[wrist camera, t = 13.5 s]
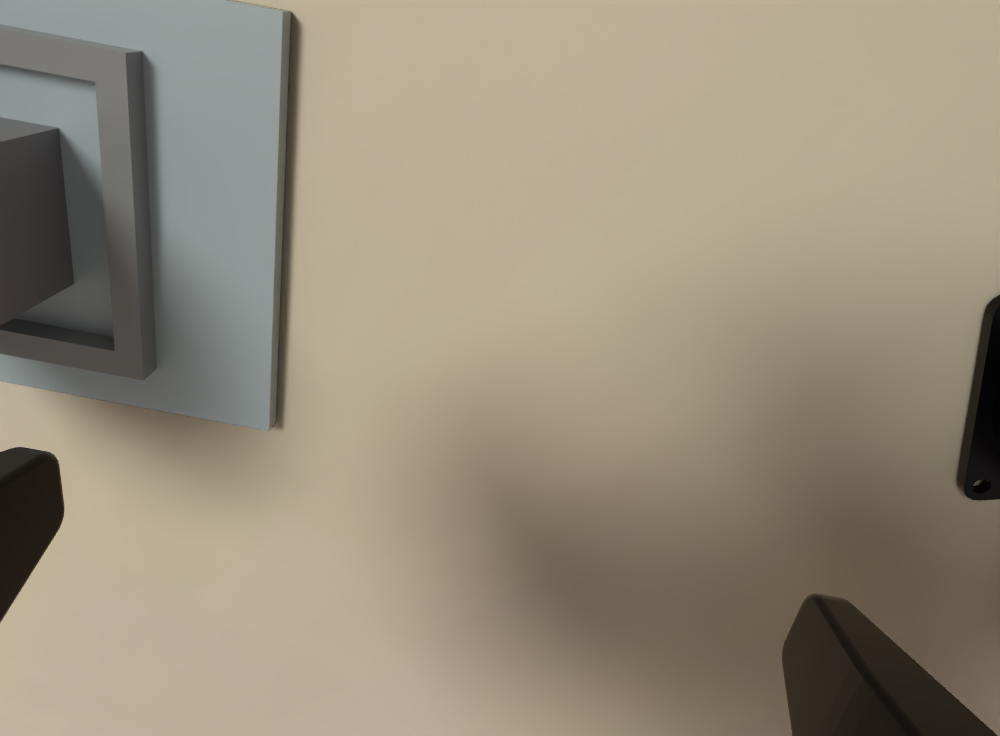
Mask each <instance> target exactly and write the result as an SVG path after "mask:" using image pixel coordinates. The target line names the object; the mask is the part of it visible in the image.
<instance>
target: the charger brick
mask: <svg viewBox="0 0 1000 736" xmlns="http://www.w3.org/2000/svg"><path fill="white" fill-rule="evenodd" d="M73 284H74V274H73V264H72V254H71V244H70V234H69V225H68V215H67V205H66V195H65V185H64V175H63V165H62V155H61V145H60V135H59V128H56V127H51V126H46V125H40V124H35V123H29V122H24V121H19V120H13V119H8V118H2V117H0V325H2V324H4V323H6V322H7V321H9V320H11V319H13V318H14V317H16V316H18V315H20V314H22V313H23V312H25V311H27V310H29V309H30V308H32V307H34V306H36V305H38V304H39V303H41V302H43V301H45V300H46V299H48V298H50V297H52V296H54V295H55V294H57V293H59V292H61V291H62V290H64V289H66V288H68V287H70V286H71V285H73Z"/></svg>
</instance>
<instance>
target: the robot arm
mask: <svg viewBox="0 0 1000 736" xmlns="http://www.w3.org/2000/svg"><path fill="white" fill-rule="evenodd" d="M982 479H984V480H983V481H982V483H980V484H979V485H976V486H973V485H974V483H975V482H977V481H978V480H982ZM957 482H958V486H959V487H960V489H961V490H962V491H963V492H964V494H965V495H966V496H967V497H968V498H970V499H972V500H994V499H1000V295H999V296H997V297H996V298H994V299H993V300H992V301H991V302H990V303H989V304H988V306H987V308H986V311H985V316H984V322H983V328H982V334H981V340H980V346H979V352H978V358H977V364H976V370H975V376H974V382H973V388H972V394H971V400H970V406H969V412H968V418H967V424H966V430H965V437H964V443H963V449H962V455H961V461H960V467H959V473H958V479H957ZM63 517H64V500H63V492H62V484H61V476H60V468H59V463H58V460H57V458H56V457H55V455H53V454H52V453H50V452H46V451H40V450H35V449H30V448H23V447H16V448H12V449H9V450H6V451H3V452H0V622H1V621H2V619H3V618H4V616H5V614H6V613H7V611H8V610H9V608H10V606H11V605H12V603H13V602H14V600H15V598H16V597H17V595H18V594H19V592H20V591H21V589H22V587H23V586H24V584H25V583H26V581H27V579H28V578H29V576H30V575H31V573H32V571H33V570H34V568H35V567H36V565H37V563H38V562H39V560H40V559H41V557H42V555H43V554H44V552H45V551H46V549H47V547H48V546H49V544H50V543H51V541H52V540H53V538H54V536H55V535H56V533H57V532H58V530H59V528H60V526H61V523H62V520H63ZM782 663H783V671H784V678H785V685H786V692H787V700H788V707H789V714H790V721H791V729H792V736H997V735H996V734H995V733H994V732H993V731H992V730H991V729H990V728H988V727H987V726H986V725H985V724H984V723H983V722H982V721H981V720H980V719H979V718H977V717H976V716H975V715H974V714H973V713H972V712H971V711H970V710H969V709H967V708H966V707H965V706H964V705H963V704H962V703H961V702H960V701H959V700H957V699H956V698H955V697H954V696H953V695H952V694H951V693H950V692H949V691H947V690H946V689H945V688H944V687H943V686H942V685H941V684H940V683H939V682H938V681H936V680H935V679H934V678H933V677H932V676H931V675H930V674H929V673H928V672H926V671H925V670H924V669H923V668H922V667H921V666H920V665H919V664H918V663H916V662H915V661H914V660H913V659H912V658H911V657H910V656H909V655H908V654H906V653H905V652H904V651H903V650H902V649H901V648H900V647H899V646H898V645H897V644H895V643H894V642H893V641H892V640H891V639H890V638H889V637H888V636H887V635H885V634H884V633H883V632H882V631H881V630H880V629H879V628H878V627H877V626H875V625H874V624H873V623H872V622H871V621H870V620H869V619H868V618H867V617H865V616H864V615H863V614H862V613H861V612H860V611H859V610H858V609H857V608H856V607H854V606H853V605H852V604H851V603H850V602H849V601H847V600H845V599H842V598H838V597H833V596H827V595H822V594H811V595H809V596H808V597H807V598H806V599H805V600H804V602H803V604H802V606H801V608H800V610H799V612H798V614H797V616H796V619H795V621H794V623H793V625H792V627H791V629H790V631H789V633H788V635H787V638H786V640H785V642H784V646H783V652H782Z"/></svg>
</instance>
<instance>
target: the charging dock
mask: <svg viewBox="0 0 1000 736" xmlns="http://www.w3.org/2000/svg"><path fill="white" fill-rule="evenodd" d="M290 25H291V11H287V10H282V9H276V8H271V7H266V6H260V5H255V4H250V3H245V2H239V1H234V0H0V117H2V118H8V119H13V120H19V121H24V122H29V123H35V124H40V125H46V126H51V127H56V128H59V135H60V145H61V155H62V165H63V175H64V185H65V195H66V205H67V215H68V225H69V234H70V244H71V254H72V264H73V274H74V284H73V285H71V286H70V287H68V288H66V289H64V290H62V291H61V292H59V293H57V294H55V295H54V296H52V297H50V298H48V299H46V300H45V301H43V302H41V303H39V304H38V305H36V306H34V307H32V308H30V309H29V310H27V311H25V312H23V313H22V314H20V315H18V316H16V317H14V318H13V319H11V320H9V321H7V322H6V323H4V324H2V325H0V381H2V382H7V383H13V384H18V385H23V386H29V387H34V388H39V389H45V390H50V391H55V392H61V393H66V394H72V395H77V396H82V397H88V398H93V399H98V400H104V401H109V402H114V403H120V404H125V405H131V406H136V407H141V408H147V409H152V410H157V411H163V412H168V413H173V414H179V415H184V416H190V417H195V418H200V419H206V420H211V421H216V422H222V423H227V424H232V425H238V426H243V427H249V428H254V429H259V430H265V431H270V429H271V428H272V426H273V425H274V423H275V422H276V401H277V374H278V347H279V320H280V293H281V267H282V240H283V213H284V186H285V159H286V132H287V105H288V78H289V51H290Z"/></svg>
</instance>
